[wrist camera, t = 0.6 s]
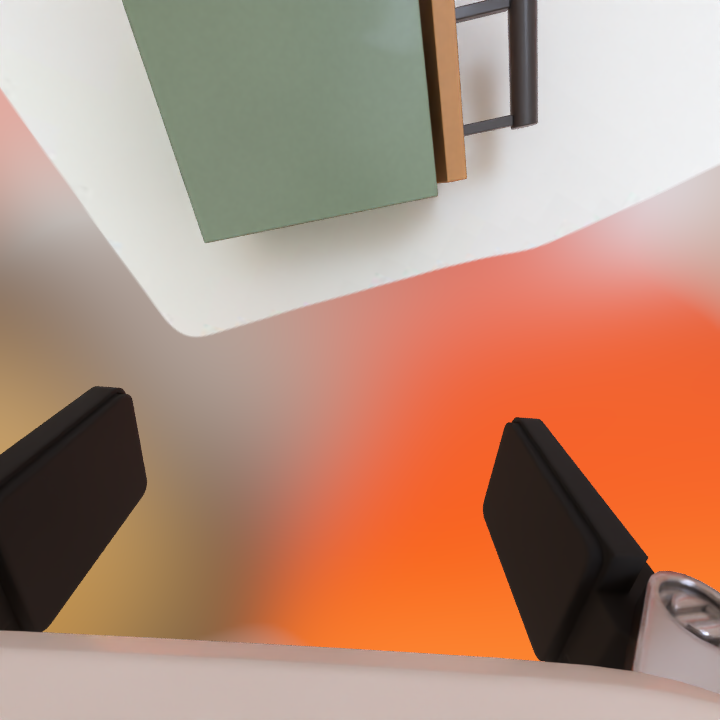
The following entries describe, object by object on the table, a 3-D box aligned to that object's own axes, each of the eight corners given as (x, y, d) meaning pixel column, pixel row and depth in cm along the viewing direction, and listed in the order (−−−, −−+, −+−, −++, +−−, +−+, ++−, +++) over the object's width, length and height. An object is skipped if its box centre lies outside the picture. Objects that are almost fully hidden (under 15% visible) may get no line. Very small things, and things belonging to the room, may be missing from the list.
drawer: (505, -24, 26) (561, -107, 18) (510, 167, 30) (557, 159, 23) (234, 43, 27) (187, -10, 20) (278, 215, 32) (253, 222, 25)
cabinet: (393, -2, 27) (409, -97, 18) (416, 194, 32) (438, 195, 23) (193, 48, 28) (115, -18, 19) (246, 229, 33) (204, 243, 24)
